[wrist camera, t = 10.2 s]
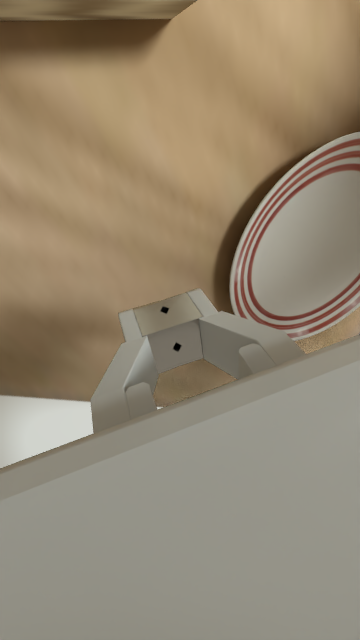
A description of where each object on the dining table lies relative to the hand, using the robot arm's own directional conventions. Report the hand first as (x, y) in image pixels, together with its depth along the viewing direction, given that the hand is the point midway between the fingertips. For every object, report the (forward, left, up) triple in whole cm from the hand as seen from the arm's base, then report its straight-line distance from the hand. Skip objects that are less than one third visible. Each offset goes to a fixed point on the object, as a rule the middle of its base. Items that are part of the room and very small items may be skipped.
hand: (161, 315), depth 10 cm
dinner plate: (-25, +14, -20) cm, 35 cm away
